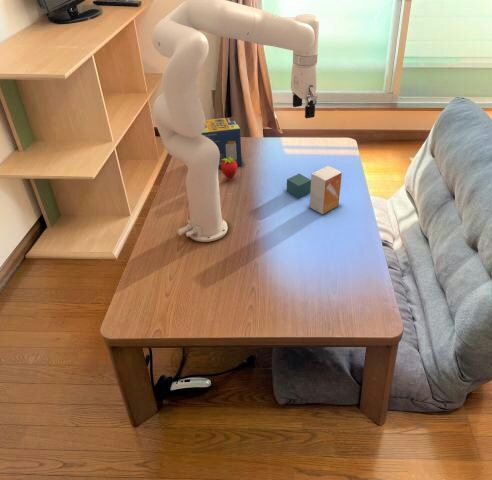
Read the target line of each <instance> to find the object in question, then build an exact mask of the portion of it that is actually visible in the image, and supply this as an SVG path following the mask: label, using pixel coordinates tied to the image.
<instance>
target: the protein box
mask: <svg viewBox="0 0 492 480" xmlns="http://www.w3.org/2000/svg"><path fill="white" fill-rule="evenodd" d="M236 120H237V119H236V118H235V116H230V117H229V116H228V117H221V118H220V117H219V118H213V119H212V118H211V119H205V121H206V125H205V129H204V131H203V133H202V134H201V135H203V136H205V137H207V138H209V139H210V140H212V141H213V142H214V143H215V144H216V145H217V147H218V149H219V152H220V160H219V167H218V170H220V169H221V163H222V162H223V161H224V160H221V159H224V158H226V159H228V158H229V157H230V156H231V158H232V159H235V161H236V163H237V167H241V166H243V161H242V141H241V140H242V138H241V137H242V136H241V127H240V126H239V124H238V122H237V121H236ZM228 156H229V157H228Z"/></svg>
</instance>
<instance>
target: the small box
mask: <svg viewBox="0 0 492 480" xmlns="http://www.w3.org/2000/svg"><path fill="white" fill-rule="evenodd" d="M310 174H311V175H310V180H311V191H310V193H309V197H310V198H309V209H310V208H311V209H312V210H314V211H316V212H317V213H319V214H321V215H324V214H326V213H328V212H330V211H332V210H334V209H335V208H338V207H339V205H340V196H341V186H342V176H343V172H342V171H340V170H338V169H336V168H334V167H332V166H330V165H326V166H324V167H322V168H320V169H318V170H316V171H314V172H312V173H310Z"/></svg>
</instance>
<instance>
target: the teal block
mask: <svg viewBox="0 0 492 480" xmlns="http://www.w3.org/2000/svg"><path fill="white" fill-rule="evenodd" d="M310 191H311V178H308V177H307V176H305V175H304V174H301V173H297V174H295V175H293V176H291V177H288V178H286V192H287V193H288V194H290V195H292V196H294V197H295V198H297V199H299V198H302V197H304V196H307V195H308V194H310Z"/></svg>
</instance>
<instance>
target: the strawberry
mask: <svg viewBox="0 0 492 480" xmlns="http://www.w3.org/2000/svg"><path fill="white" fill-rule="evenodd" d="M228 157H229V156H228ZM221 160H224V161H223V162H222V163H221V172H222V174H223V175H224V177H226V178H227V179H228V180H229V181H232V180H233V179H234V177H235V175H236V173H237V171H238V166H237V163H236V161H235V159H232V158H231V156H230V157H229V158H228V159H226V158H224V159H221Z"/></svg>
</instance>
